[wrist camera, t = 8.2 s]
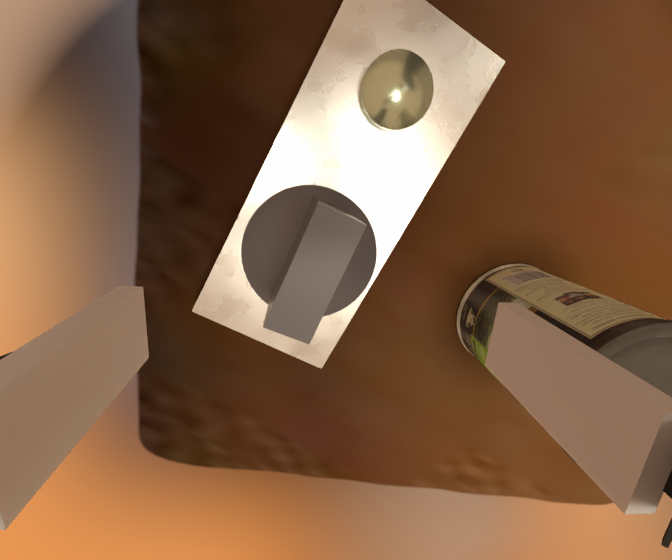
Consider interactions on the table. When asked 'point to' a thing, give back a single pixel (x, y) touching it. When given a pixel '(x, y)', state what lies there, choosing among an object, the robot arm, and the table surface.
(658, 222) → the table surface
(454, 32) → the base plate
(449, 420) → the table surface
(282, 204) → the wing knob
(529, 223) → the table surface
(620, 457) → the robot arm
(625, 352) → the coffee can
